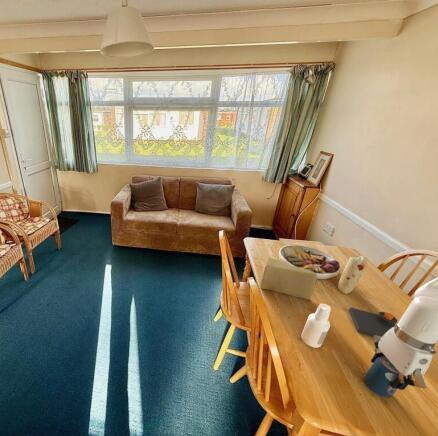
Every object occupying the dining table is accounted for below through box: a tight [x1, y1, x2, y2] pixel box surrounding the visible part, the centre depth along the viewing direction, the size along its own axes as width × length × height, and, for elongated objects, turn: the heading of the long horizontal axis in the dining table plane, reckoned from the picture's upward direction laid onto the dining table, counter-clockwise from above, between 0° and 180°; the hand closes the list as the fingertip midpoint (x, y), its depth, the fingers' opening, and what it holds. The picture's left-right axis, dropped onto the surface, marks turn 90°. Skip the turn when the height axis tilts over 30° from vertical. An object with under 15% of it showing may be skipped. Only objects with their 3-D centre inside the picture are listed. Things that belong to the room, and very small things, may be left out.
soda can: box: [364, 356, 407, 398], centre depth 73 cm, size 7×7×12 cm
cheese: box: [259, 256, 317, 300], centre depth 113 cm, size 22×10×15 cm, turn 58°
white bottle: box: [300, 303, 332, 349], centre depth 87 cm, size 7×7×18 cm
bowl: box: [278, 244, 341, 280], centre depth 134 cm, size 30×30×8 cm
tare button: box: [383, 311, 395, 320], centre depth 97 cm, size 3×3×2 cm
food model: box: [337, 254, 367, 295], centre depth 112 cm, size 10×7×20 cm
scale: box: [348, 306, 399, 338], centre depth 96 cm, size 15×14×4 cm
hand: (386, 374), depth 72 cm, fingers closed on soda can, 7 cm apart
